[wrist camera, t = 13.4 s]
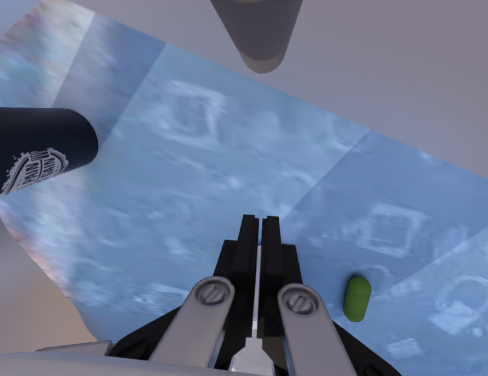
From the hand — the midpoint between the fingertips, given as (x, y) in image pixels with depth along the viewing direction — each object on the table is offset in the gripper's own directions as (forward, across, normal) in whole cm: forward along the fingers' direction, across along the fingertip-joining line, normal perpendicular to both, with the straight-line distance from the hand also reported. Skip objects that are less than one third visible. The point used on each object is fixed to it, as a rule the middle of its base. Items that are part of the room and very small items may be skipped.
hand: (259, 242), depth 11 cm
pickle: (+22, -16, +23) cm, 36 cm away
